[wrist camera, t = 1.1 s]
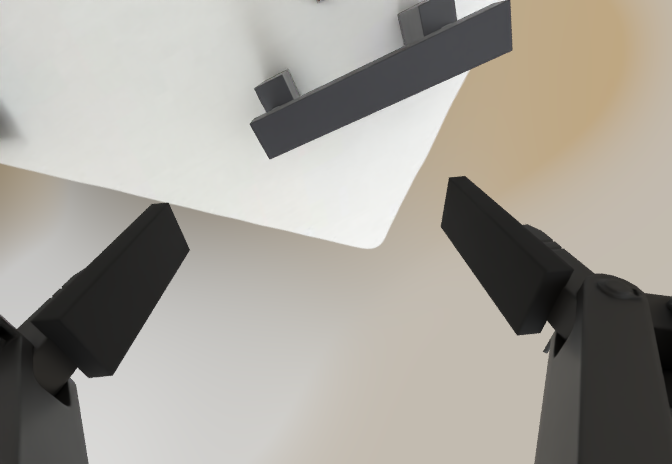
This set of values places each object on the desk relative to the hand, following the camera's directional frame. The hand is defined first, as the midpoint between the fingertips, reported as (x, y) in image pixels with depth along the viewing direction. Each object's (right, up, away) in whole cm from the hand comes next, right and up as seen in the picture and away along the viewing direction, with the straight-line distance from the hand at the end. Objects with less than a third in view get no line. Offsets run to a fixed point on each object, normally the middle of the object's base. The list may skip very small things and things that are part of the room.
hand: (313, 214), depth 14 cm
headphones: (+3, +19, +21) cm, 28 cm away
